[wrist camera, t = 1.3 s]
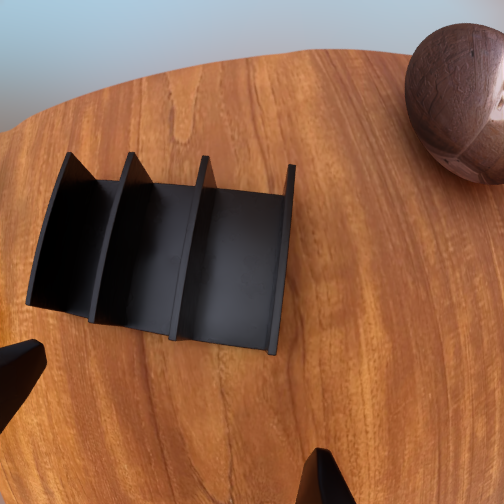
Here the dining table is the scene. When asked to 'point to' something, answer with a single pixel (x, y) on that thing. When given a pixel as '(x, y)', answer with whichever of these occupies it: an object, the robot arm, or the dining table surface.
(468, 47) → the wooden sphere
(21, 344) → the robot arm
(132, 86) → the dining table surface
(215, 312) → the book rack
